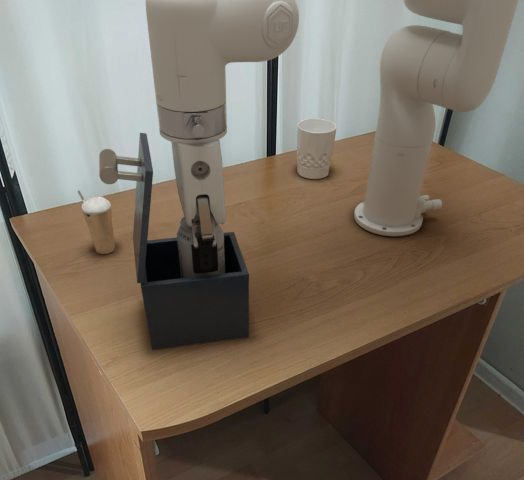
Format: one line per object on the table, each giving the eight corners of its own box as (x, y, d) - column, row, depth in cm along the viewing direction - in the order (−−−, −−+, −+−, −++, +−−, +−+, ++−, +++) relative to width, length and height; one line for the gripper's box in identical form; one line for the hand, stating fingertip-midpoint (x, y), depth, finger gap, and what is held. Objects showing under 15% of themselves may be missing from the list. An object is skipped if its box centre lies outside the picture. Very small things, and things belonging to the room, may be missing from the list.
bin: (235, 292, 83) (233, 231, 76) (248, 337, 76) (249, 273, 68) (146, 303, 81) (136, 241, 73) (151, 350, 73) (140, 286, 66)
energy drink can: (185, 301, 80) (176, 210, 70) (226, 300, 80) (222, 209, 70) (184, 328, 75) (174, 235, 65) (227, 326, 76) (223, 233, 66)
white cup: (329, 182, 111) (334, 134, 105) (291, 178, 112) (294, 130, 106) (333, 166, 117) (338, 120, 110) (297, 163, 118) (300, 116, 111)
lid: (146, 133, 64) (99, 127, 62) (153, 171, 56) (99, 165, 55) (138, 238, 73) (97, 235, 71) (143, 283, 66) (97, 281, 64)
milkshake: (99, 238, 94) (87, 184, 87) (124, 246, 92) (114, 192, 85) (82, 251, 91) (68, 196, 84) (107, 259, 89) (95, 204, 82)
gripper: (241, 146, 53) (242, 292, 66) (214, 90, 66) (219, 221, 78) (165, 152, 52) (181, 299, 64) (152, 94, 64) (167, 227, 77)
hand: (202, 255), depth 71 cm, fingers closed on energy drink can, 6 cm apart
